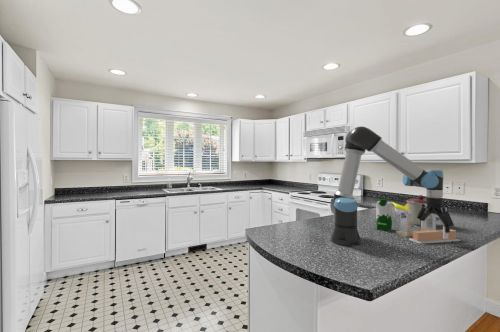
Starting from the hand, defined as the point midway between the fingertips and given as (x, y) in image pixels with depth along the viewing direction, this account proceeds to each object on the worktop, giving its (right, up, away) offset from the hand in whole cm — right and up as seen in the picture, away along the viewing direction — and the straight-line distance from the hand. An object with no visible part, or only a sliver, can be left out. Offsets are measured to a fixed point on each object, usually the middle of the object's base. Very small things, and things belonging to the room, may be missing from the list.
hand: (434, 235), depth 142 cm
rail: (0, -2, 0) cm, 2 cm away
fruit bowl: (+32, -4, +71) cm, 78 cm away
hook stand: (-1, -3, +13) cm, 13 cm away
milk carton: (-15, -3, +24) cm, 29 cm away
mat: (0, -3, 0) cm, 3 cm away
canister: (+19, -3, +40) cm, 44 cm away
